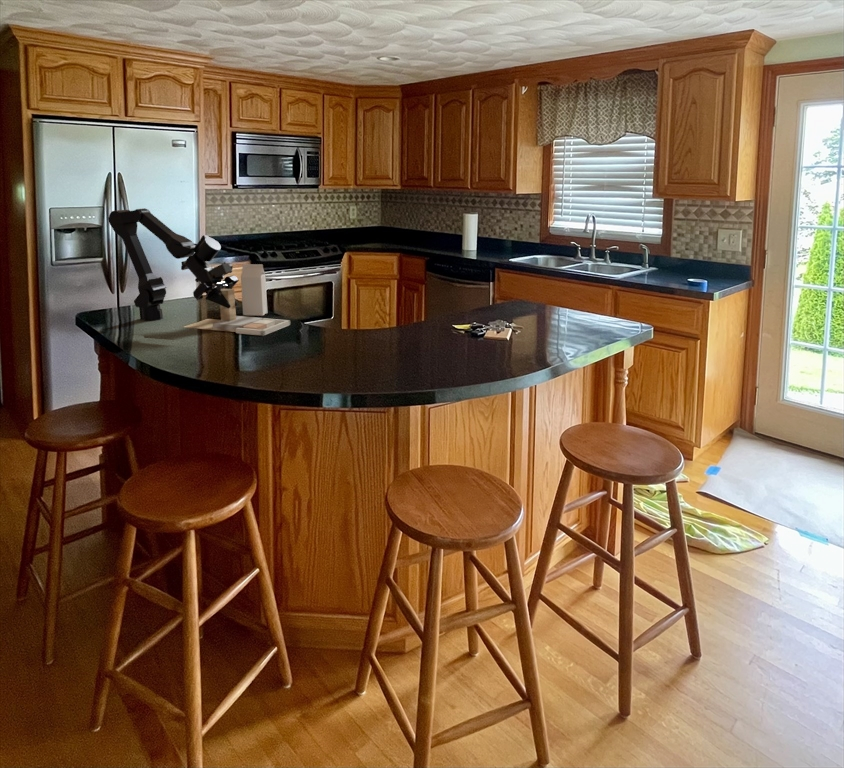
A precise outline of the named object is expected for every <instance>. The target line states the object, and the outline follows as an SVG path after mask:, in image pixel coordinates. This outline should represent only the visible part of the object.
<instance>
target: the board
mask: <svg viewBox="0 0 844 768" xmlns="http://www.w3.org/2000/svg"><path fill="white" fill-rule="evenodd" d="M218 321H221V319H213V318H206V319H203V320H200V321H197V322H194V323H191V324H188V325H187V324H186V325H185V326H183V328H188V329H200V330H209V331H216V330H215V329H213V323H215V322H218ZM220 331H221V332H223V331H224V332H227V331H226V330H219V332H220ZM230 332H231V333H232V332H233V333H234V332H235V333H236V331H230Z"/></svg>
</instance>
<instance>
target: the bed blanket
mask: <svg viewBox="0 0 844 768" xmlns="http://www.w3.org/2000/svg"><path fill="white" fill-rule="evenodd" d="M221 293H222V294H223V296H224V297H225V298H226V300H227V301H228V302H229V304H230V306H231V307H230V308H226V307H224V306H222V305H220V304H219V309H220V320H221V321H218V322H215V323H213V329H215V330H214V331H220V330H226V331H225V332H231V331H236V328H243V326H245V325H248V324H251V323H253V324H254V322H257V321H259V320H263V318H264V317H255V316H245V315H237V313H236V312H237V311H236V310H237V309H236V306H235V299H236V295H235V289H234V288H232V289H222V290H221Z"/></svg>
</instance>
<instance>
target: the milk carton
mask: <svg viewBox="0 0 844 768" xmlns="http://www.w3.org/2000/svg"><path fill="white" fill-rule="evenodd" d="M241 266H242V269H241V274H240V287H241V288H240V289H241V302H242V316H258V317H259V316H265V314H268V299H267V282H266V281H267V280H266V272H265V270H264V265H263V264H262V263H261V264H260V263H259V264H258V263H257V264H256V263H255V264H254V263H253V264H250V263H248V264H247V263H245V264H244V263H243V264H242V265H241Z"/></svg>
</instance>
